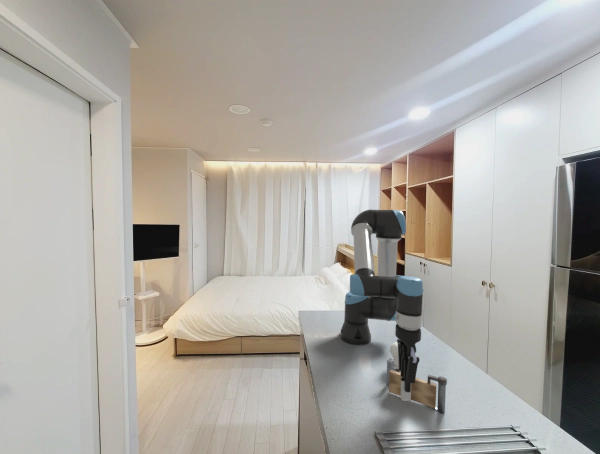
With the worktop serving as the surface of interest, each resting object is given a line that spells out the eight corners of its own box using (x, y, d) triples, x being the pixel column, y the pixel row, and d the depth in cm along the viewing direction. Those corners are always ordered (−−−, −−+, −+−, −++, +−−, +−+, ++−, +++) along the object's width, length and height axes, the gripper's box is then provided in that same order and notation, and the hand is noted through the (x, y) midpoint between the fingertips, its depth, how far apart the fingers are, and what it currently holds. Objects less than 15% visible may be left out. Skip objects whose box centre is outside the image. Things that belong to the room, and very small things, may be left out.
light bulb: (406, 367, 101) (407, 340, 101) (407, 376, 95) (409, 348, 94) (389, 363, 103) (390, 337, 103) (389, 372, 97) (390, 345, 97)
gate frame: (386, 384, 90) (387, 360, 89) (390, 381, 92) (391, 357, 91) (443, 415, 76) (444, 386, 76) (446, 410, 78) (447, 382, 78)
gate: (388, 392, 84) (389, 364, 84) (389, 388, 86) (390, 361, 86) (445, 413, 76) (446, 382, 76) (445, 408, 78) (446, 378, 78)
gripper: (390, 317, 86) (387, 385, 86) (403, 333, 73) (400, 413, 73) (412, 319, 85) (410, 387, 86) (429, 335, 73) (426, 415, 73)
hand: (405, 399), depth 79 cm, fingers closed
